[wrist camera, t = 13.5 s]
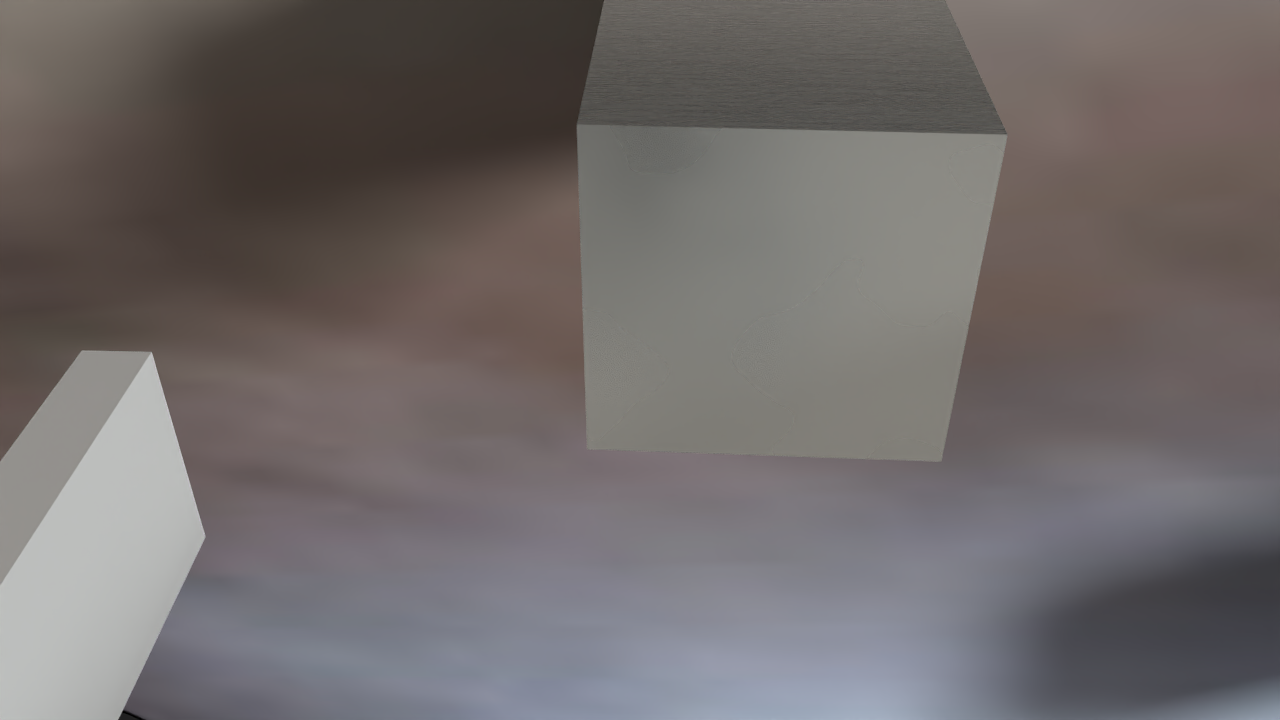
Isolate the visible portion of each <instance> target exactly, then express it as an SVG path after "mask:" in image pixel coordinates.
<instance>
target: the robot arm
mask: <svg viewBox="0 0 1280 720" xmlns="http://www.w3.org/2000/svg"><path fill="white" fill-rule="evenodd" d="M204 539H205V534H204V530H203V527H202V523H201V520H200V516H199V513H198V510H197V506H196V503H195V499H194V496H193V492H192V489H191V486H190V482H189V479H188V475H187V472H186V468H185V465H184V462H183V458H182V455H181V451H180V448H179V444H178V441H177V437H176V434H175V431H174V427H173V424H172V420H171V417H170V413H169V410H168V407H167V403H166V400H165V396H164V393H163V389H162V386H161V383H160V379H159V376H158V372H157V369H156V365H155V362H154V359H153V355H152V352H130V351H84V350H82V351H81V352H80V354H79V355H78V356H77V358H76V359H75V360H74V362H73V363H72V365H71V366H70V367H69V369H68V370H67V371H66V373H65V374H64V375H63V377H62V378H61V380H60V381H59V382H58V384H57V385H56V386H55V388H54V389H53V390H52V392H51V393H50V395H49V396H48V397H47V399H46V400H45V401H44V403H43V404H42V405H41V407H40V408H39V410H38V411H37V412H36V414H35V415H34V416H33V418H32V419H31V420H30V422H29V423H28V425H27V426H26V427H25V429H24V430H23V431H22V433H21V434H20V435H19V437H18V438H17V440H16V441H15V442H14V444H13V445H12V446H11V448H10V449H9V450H8V452H7V453H6V455H5V456H4V457H3V459H2V460H1V461H0V720H139V719H137V718H134V717H132V716H130V715H127V714H125V713H122V711H123V709H124V707H125V705H126V702H127V700H128V698H129V696H130V694H131V692H132V690H133V688H134V686H135V684H136V681H137V679H138V677H139V675H140V673H141V671H142V669H143V667H144V665H145V663H146V661H147V658H148V656H149V654H150V652H151V650H152V648H153V646H154V644H155V642H156V640H157V637H158V635H159V633H160V631H161V629H162V627H163V625H164V623H165V621H166V619H167V616H168V614H169V612H170V610H171V608H172V606H173V604H174V602H175V600H176V598H177V596H178V593H179V591H180V589H181V587H182V585H183V583H184V581H185V579H186V577H187V575H188V572H189V570H190V568H191V566H192V564H193V562H194V560H195V558H196V556H197V554H198V551H199V549H200V547H201V545H202V543H203V541H204Z"/></svg>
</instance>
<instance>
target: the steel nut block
mask: <svg viewBox="0 0 1280 720" xmlns="http://www.w3.org/2000/svg"><path fill="white" fill-rule="evenodd" d="M1006 140H1007V132H1006V130H1005V128H1004V126H1003V124H1002V122H1001V119H1000V117H999V115H998V113H997V111H996V109H995V106H994V104H993V102H992V100H991V98H990V96H989V94H988V91H987V89H986V87H985V85H984V83H983V81H982V78H981V76H980V74H979V72H978V70H977V68H976V65H975V63H974V61H973V59H972V57H971V55H970V53H969V50H968V48H967V46H966V44H965V42H964V40H963V37H962V35H961V33H960V31H959V29H958V27H957V24H956V22H955V20H954V18H953V16H952V14H951V12H950V9H949V7H948V5H947V3H946V1H945V0H604V3H603V7H602V12H601V16H600V21H599V25H598V30H597V35H596V39H595V44H594V48H593V53H592V57H591V62H590V66H589V71H588V75H587V80H586V85H585V89H584V94H583V98H582V103H581V107H580V112H579V116H578V121H577V149H578V180H579V211H580V243H581V274H582V305H583V336H584V367H585V399H586V430H587V449H594V450H622V451H651V452H680V453H708V454H737V455H766V456H795V457H823V458H852V459H881V460H909V461H938V462H941V460H942V455H943V450H944V445H945V440H946V436H947V431H948V426H949V421H950V416H951V411H952V406H953V401H954V396H955V391H956V386H957V381H958V376H959V371H960V367H961V362H962V357H963V352H964V347H965V342H966V337H967V332H968V327H969V322H970V317H971V312H972V307H973V303H974V298H975V293H976V288H977V283H978V278H979V273H980V268H981V263H982V258H983V253H984V248H985V243H986V239H987V234H988V229H989V224H990V219H991V214H992V209H993V204H994V199H995V194H996V189H997V184H998V179H999V175H1000V170H1001V165H1002V160H1003V155H1004V150H1005V145H1006Z"/></svg>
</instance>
